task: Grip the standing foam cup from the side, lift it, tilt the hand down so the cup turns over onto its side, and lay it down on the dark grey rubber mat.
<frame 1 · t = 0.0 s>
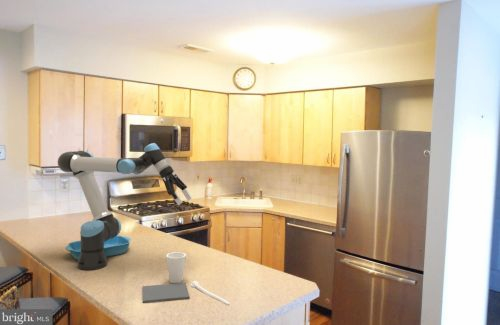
hand: (185, 201, 209), 36 cm above the counter, tool tilted 35°, fingers open, 13 cm apart
white long knobbed rod: (210, 295, 177), on the counter
foam cup: (175, 281, 191), on the counter
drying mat: (165, 293, 176), on the counter
casserole dish: (99, 254, 229), on the counter
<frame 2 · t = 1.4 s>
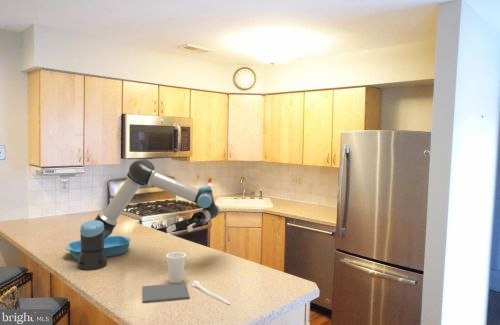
hand: (177, 230, 197), 23 cm above the counter, tool horizontal, fingers open, 13 cm apart
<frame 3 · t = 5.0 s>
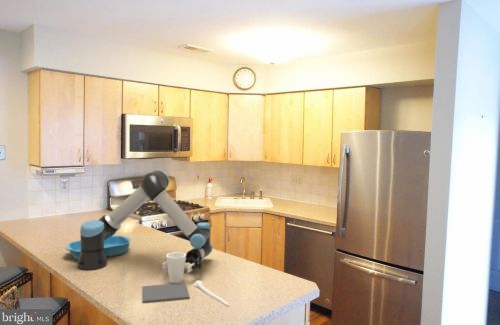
hand: (175, 268, 189), 7 cm above the counter, tool horizontal, fingers open, 13 cm apart
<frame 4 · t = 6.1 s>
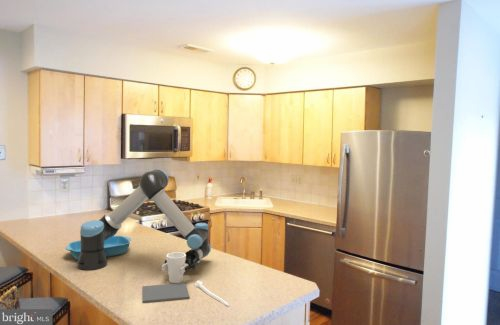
hand: (171, 269, 186), 7 cm above the counter, tool horizontal, fingers closed on foam cup, 9 cm apart
foam cup: (175, 281, 191), on the counter, touching gripper
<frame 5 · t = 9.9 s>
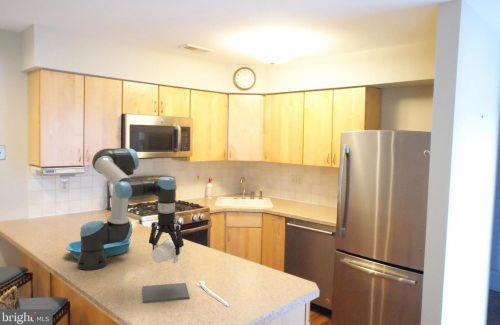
hand: (165, 260, 175), 15 cm above the counter, tool pointing down, fingers closed on foam cup, 9 cm apart
foam cup: (157, 255, 168), point 20 cm above the counter, touching gripper
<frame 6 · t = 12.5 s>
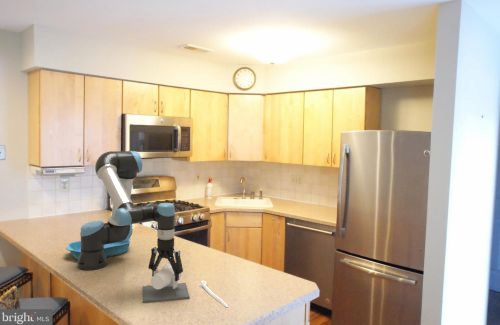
hand: (165, 285, 176), 3 cm above the counter, tool pointing down, fingers closed on foam cup, 9 cm apart
foam cup: (156, 282, 169), point 8 cm above the counter, touching gripper
when the fingers open (3 cm above the counter, at t = 12.8 s): foam cup drops 2 cm, resting on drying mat.
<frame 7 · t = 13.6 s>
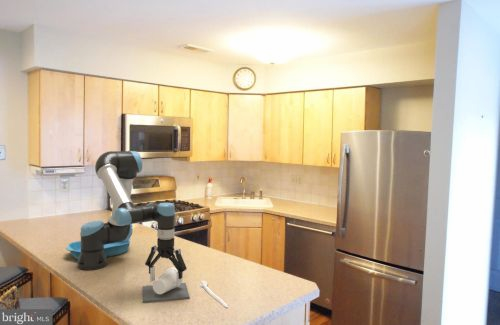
hand: (165, 283, 175), 5 cm above the counter, tool pointing down, fingers open, 13 cm apart
foam cup: (158, 287, 168), point 6 cm above the counter, touching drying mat
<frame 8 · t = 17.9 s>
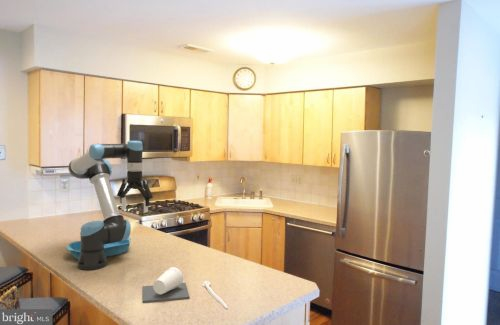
hand: (134, 211, 201), 32 cm above the counter, tool pointing down, fingers open, 13 cm apart
at the end: foam cup tilted 90°; foam cup inside the target area on the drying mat (7.1 cm from its centre), point 5.6 cm above the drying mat's base; the gripper is holding nothing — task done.
